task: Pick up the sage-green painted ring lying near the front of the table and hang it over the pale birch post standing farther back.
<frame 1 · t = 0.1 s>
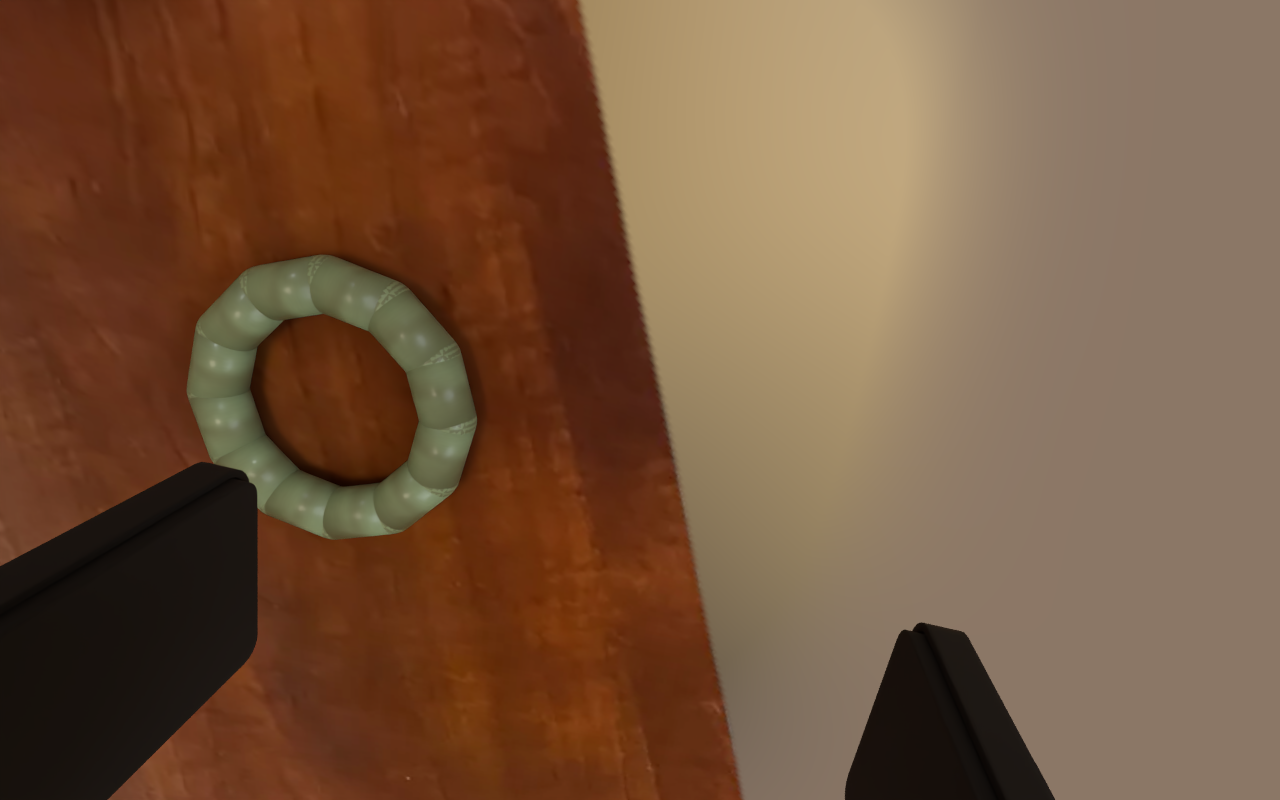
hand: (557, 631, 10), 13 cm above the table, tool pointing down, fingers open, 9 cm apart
ring: (331, 404, 23), point 1 cm above the table
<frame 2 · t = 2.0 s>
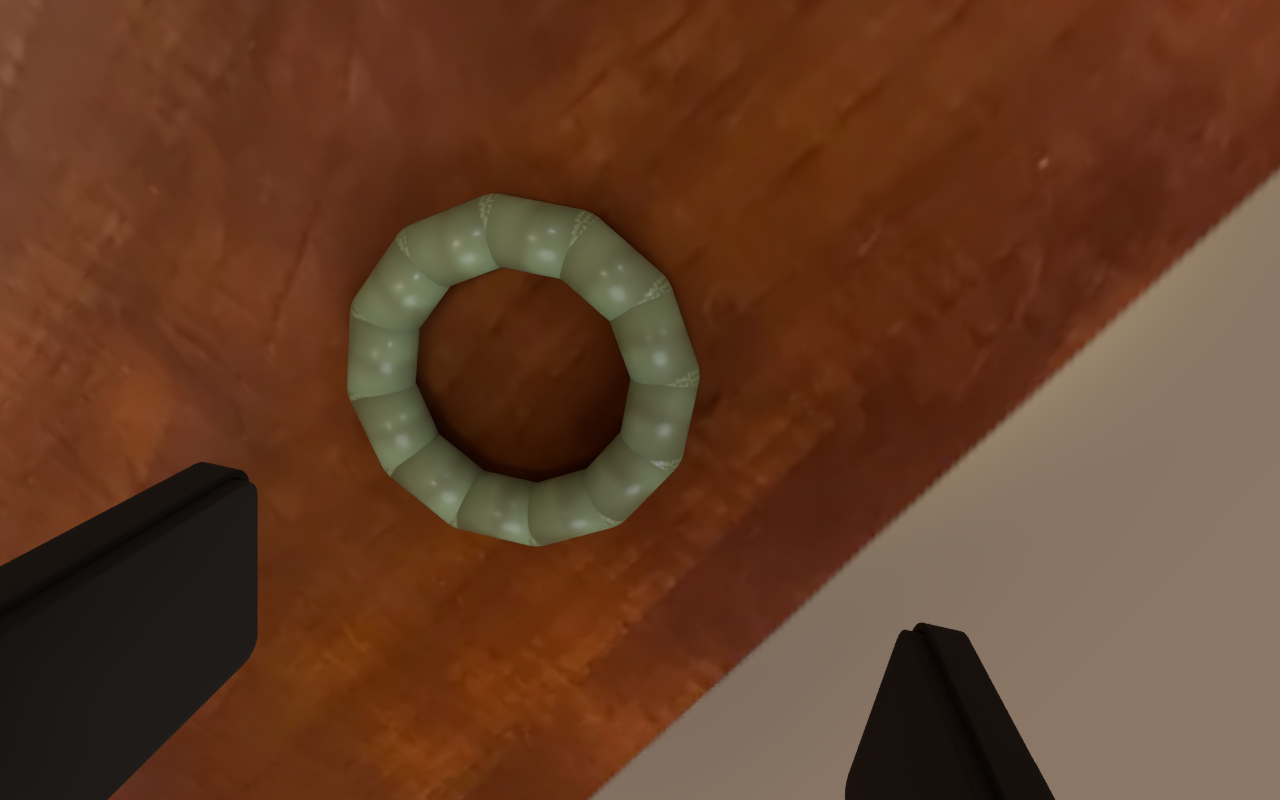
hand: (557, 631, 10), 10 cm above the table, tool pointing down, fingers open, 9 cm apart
ring: (518, 381, 19), point 1 cm above the table
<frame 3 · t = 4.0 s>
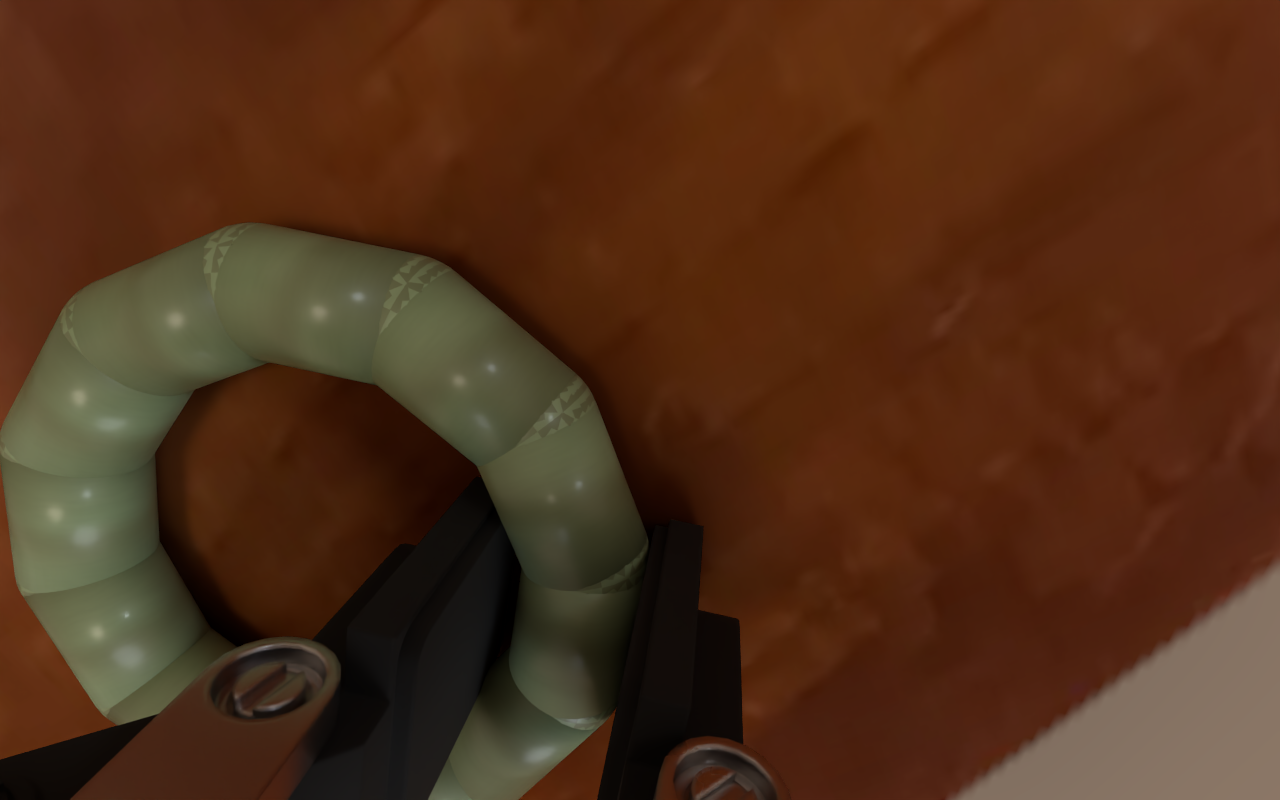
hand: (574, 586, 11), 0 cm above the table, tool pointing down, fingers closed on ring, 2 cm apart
ring: (326, 558, 10), point 1 cm above the table, touching gripper
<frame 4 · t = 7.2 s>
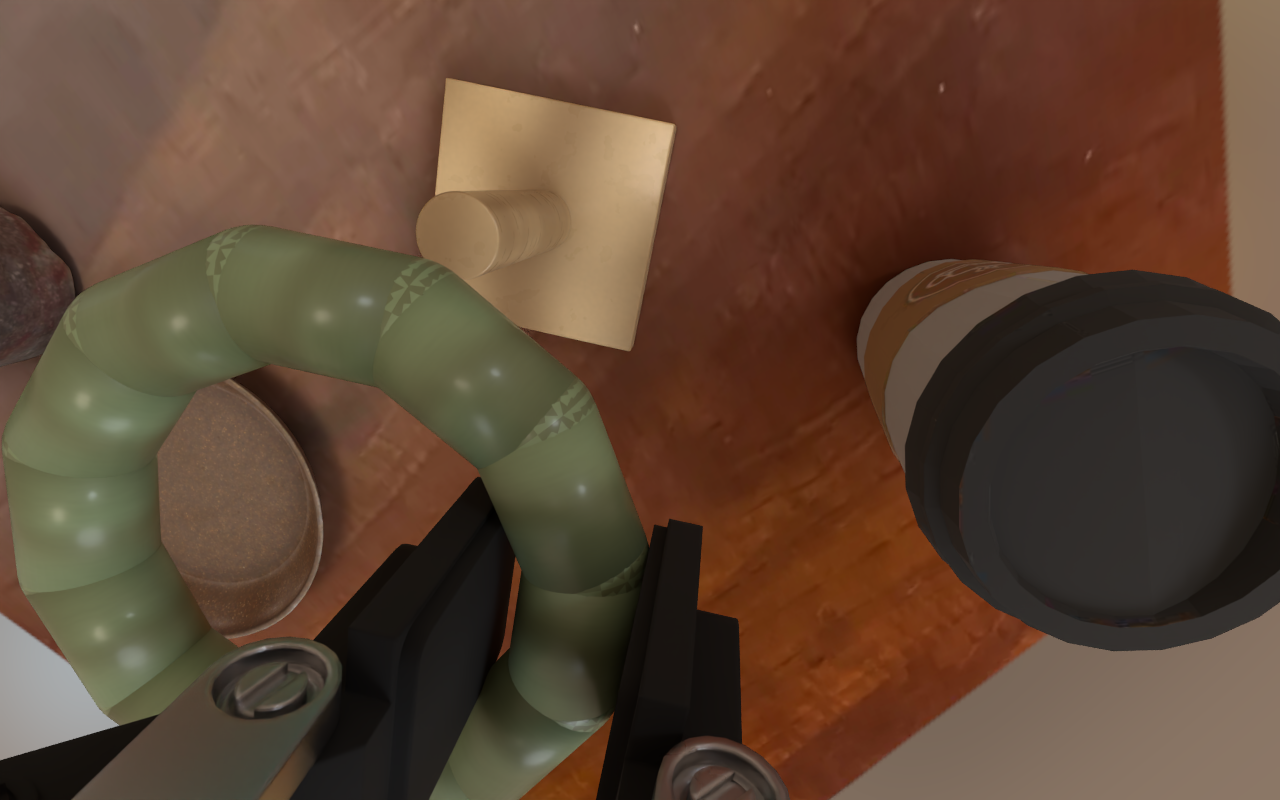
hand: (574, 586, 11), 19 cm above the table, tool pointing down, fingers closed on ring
saucer: (213, 479, 34), on the table
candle: (14, 281, 32), on the table
ring: (326, 559, 10), point 20 cm above the table, touching gripper
coffee cup: (933, 336, 28), on the table
post: (548, 219, 28), on the table
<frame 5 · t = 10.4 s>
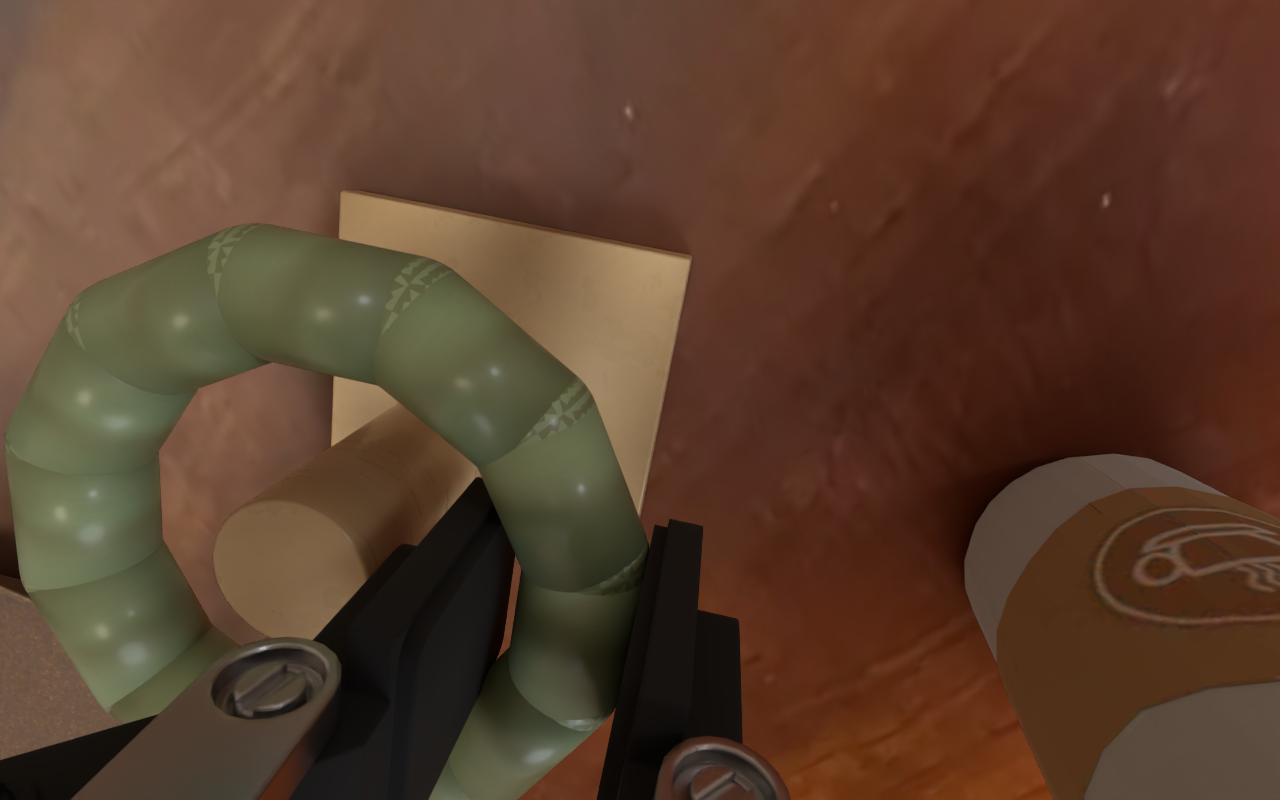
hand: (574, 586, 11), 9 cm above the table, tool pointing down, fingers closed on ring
saucer: (66, 705, 25), on the table
ring: (327, 557, 10), point 9 cm above the table, touching gripper
coffee cup: (1075, 549, 19), on the table
post: (504, 384, 19), on the table
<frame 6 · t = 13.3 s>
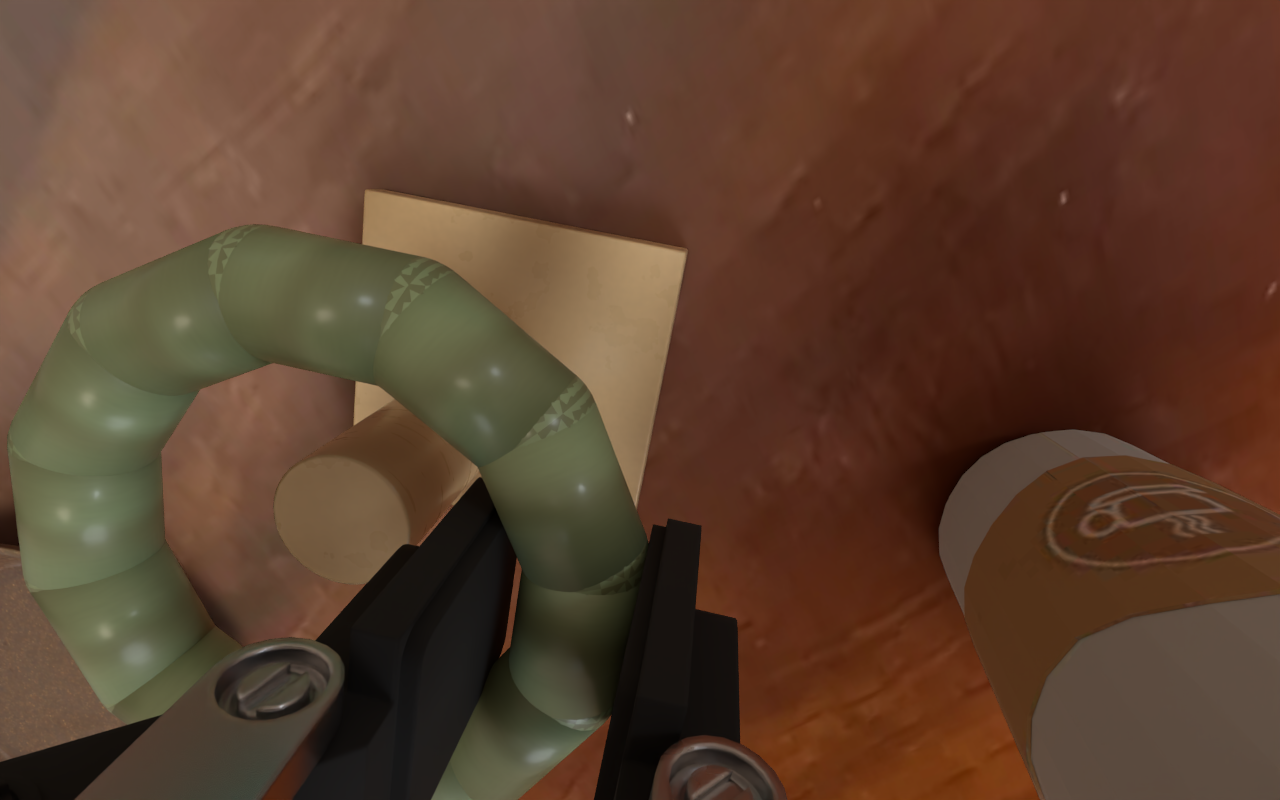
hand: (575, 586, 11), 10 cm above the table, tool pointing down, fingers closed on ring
saucer: (97, 676, 27), on the table
ring: (328, 557, 10), point 11 cm above the table, touching gripper
coffee cup: (1041, 519, 21), on the table
post: (514, 368, 21), on the table
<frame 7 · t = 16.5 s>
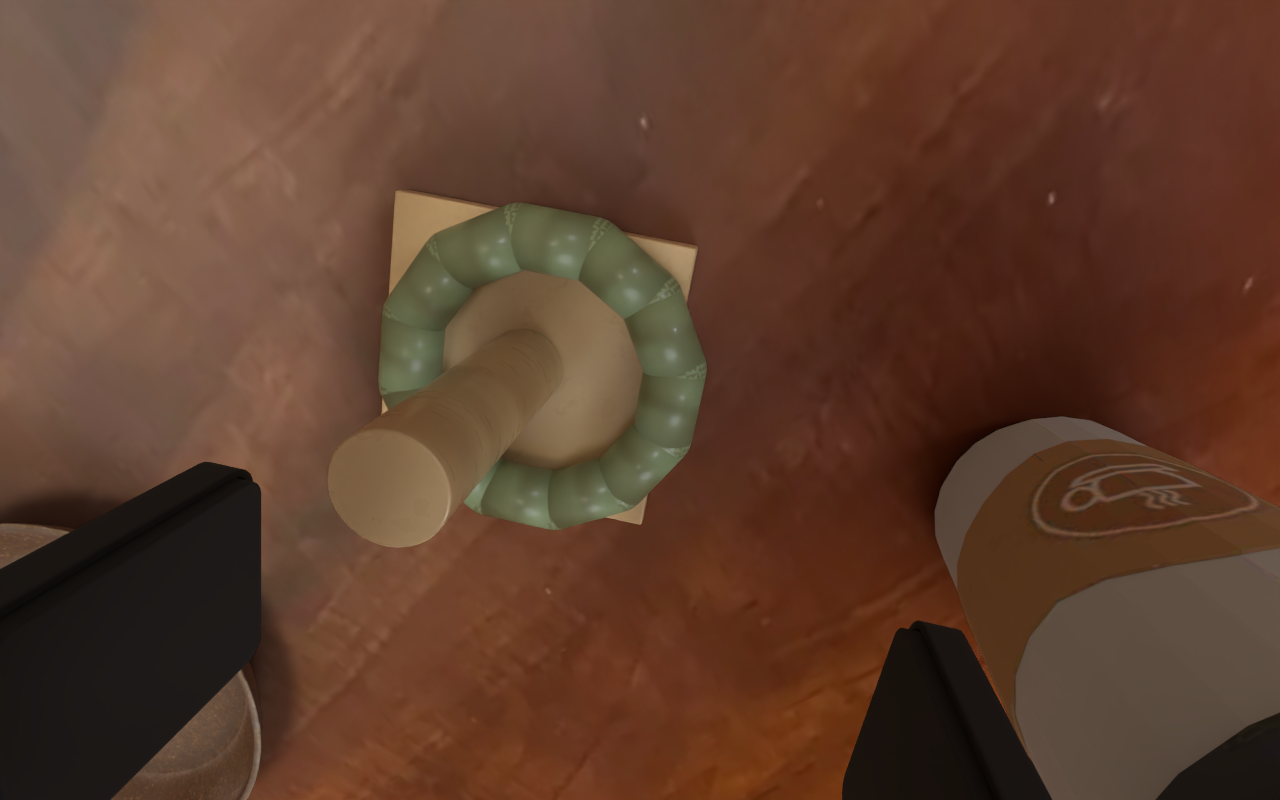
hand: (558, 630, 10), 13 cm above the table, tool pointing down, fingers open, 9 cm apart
saucer: (132, 654, 28), on the table
ring: (538, 375, 20), point 2 cm above the table, touching post
coffee cup: (1032, 503, 22), on the table
post: (533, 359, 22), on the table
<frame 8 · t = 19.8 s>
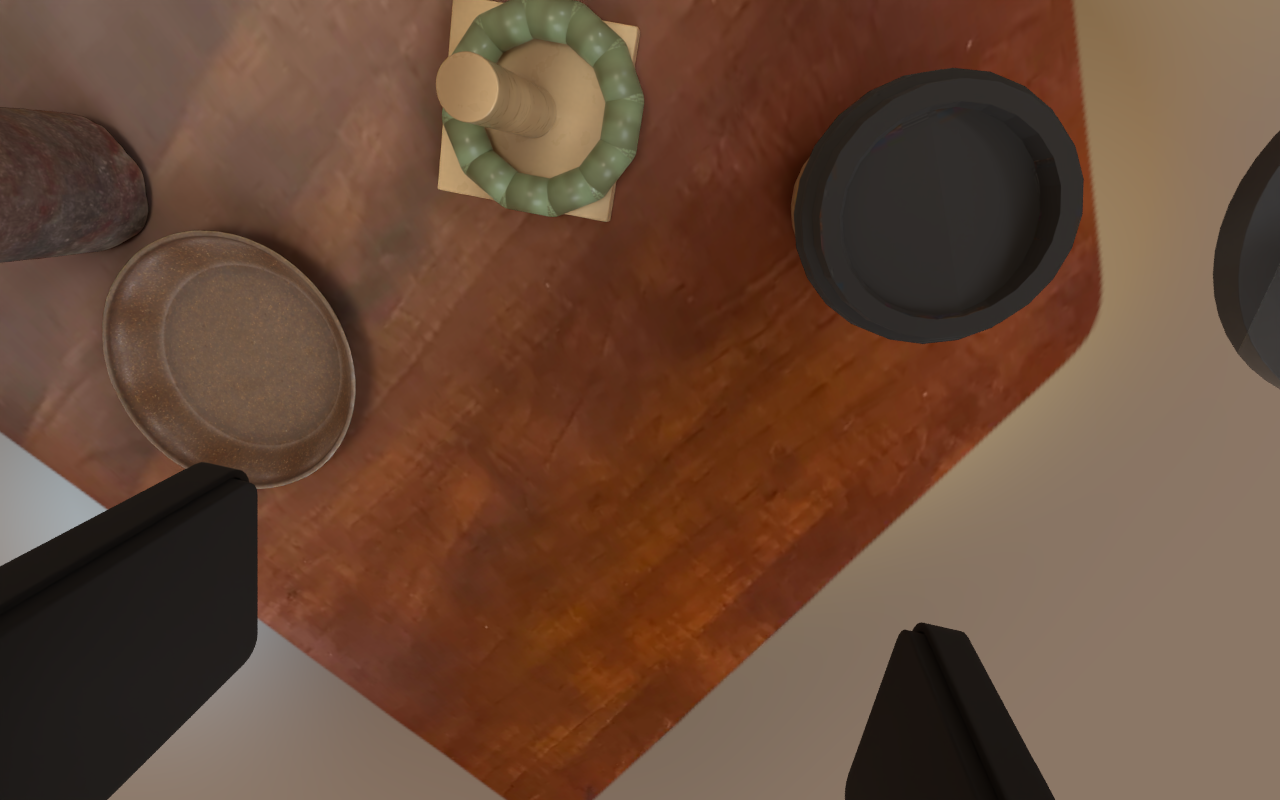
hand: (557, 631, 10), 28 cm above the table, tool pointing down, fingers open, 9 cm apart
saucer: (259, 355, 41), on the table
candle: (93, 185, 39), on the table
ring: (541, 110, 33), point 2 cm above the table, touching post
coffee cup: (854, 202, 34), on the table
post: (537, 113, 35), on the table
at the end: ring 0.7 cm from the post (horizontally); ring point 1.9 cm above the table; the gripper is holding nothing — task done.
